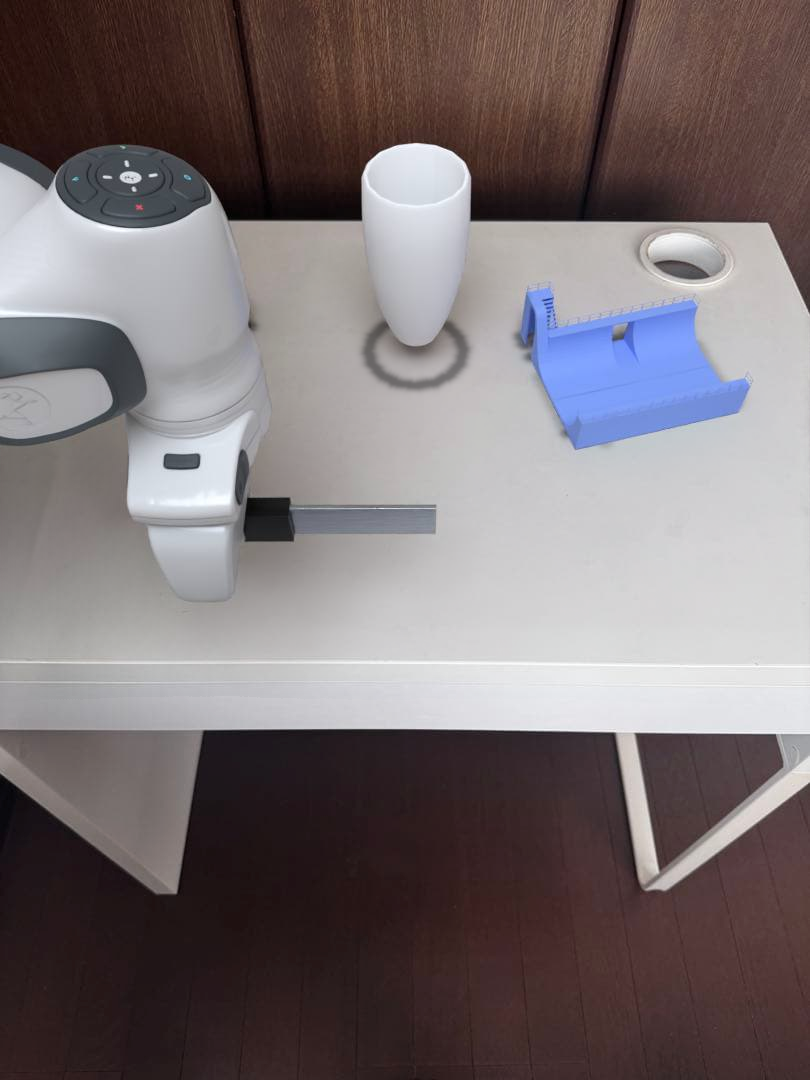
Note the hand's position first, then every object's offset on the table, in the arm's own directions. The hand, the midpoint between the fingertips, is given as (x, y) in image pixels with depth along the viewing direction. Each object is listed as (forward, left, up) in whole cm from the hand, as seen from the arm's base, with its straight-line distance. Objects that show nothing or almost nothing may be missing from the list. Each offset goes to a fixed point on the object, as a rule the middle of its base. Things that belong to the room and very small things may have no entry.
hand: (237, 521), depth 67 cm
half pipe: (+46, -2, -14) cm, 48 cm away
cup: (+31, +15, -14) cm, 37 cm away
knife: (+4, -4, -1) cm, 6 cm away
